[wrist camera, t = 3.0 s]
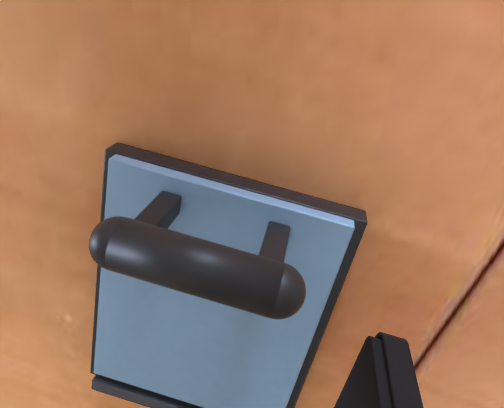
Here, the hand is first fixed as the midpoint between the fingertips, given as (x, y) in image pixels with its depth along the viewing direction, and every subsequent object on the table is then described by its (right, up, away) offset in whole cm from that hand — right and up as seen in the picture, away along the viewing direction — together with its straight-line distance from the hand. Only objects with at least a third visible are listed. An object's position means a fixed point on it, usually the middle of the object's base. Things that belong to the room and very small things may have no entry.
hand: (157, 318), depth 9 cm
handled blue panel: (0, -2, +8) cm, 8 cm away
